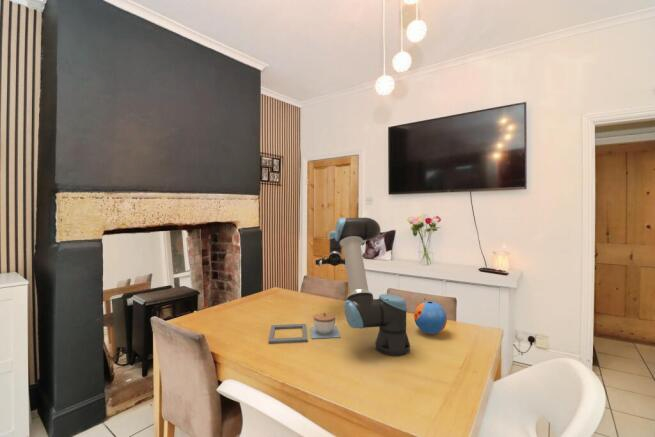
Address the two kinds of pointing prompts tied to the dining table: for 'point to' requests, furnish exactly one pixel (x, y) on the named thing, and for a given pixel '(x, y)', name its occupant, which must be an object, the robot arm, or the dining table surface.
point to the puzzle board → (288, 340)
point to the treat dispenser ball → (430, 317)
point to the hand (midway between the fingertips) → (333, 265)
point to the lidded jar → (324, 322)
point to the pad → (317, 335)
